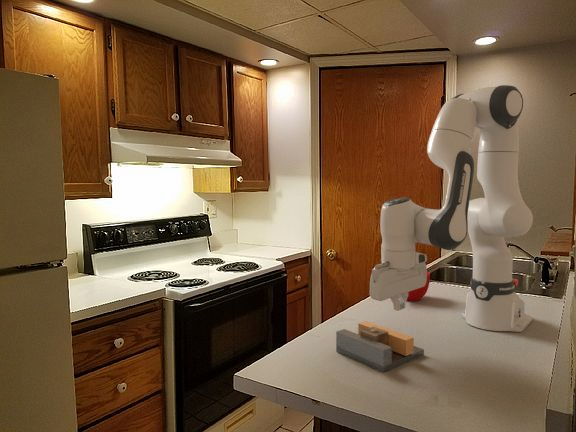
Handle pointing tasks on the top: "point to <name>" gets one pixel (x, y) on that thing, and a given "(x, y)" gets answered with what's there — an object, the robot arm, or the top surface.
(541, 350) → the top surface
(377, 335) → the block
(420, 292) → the ceramic cup
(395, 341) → the block
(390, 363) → the frame
